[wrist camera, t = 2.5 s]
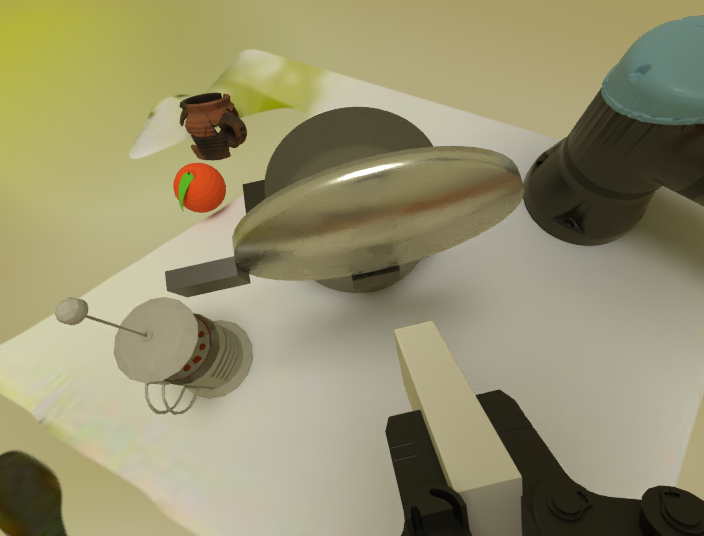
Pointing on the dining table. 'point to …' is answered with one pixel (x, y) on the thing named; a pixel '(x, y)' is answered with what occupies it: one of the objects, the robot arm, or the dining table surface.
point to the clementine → (199, 187)
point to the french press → (174, 348)
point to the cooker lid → (364, 218)
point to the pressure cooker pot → (333, 150)
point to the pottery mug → (212, 125)
